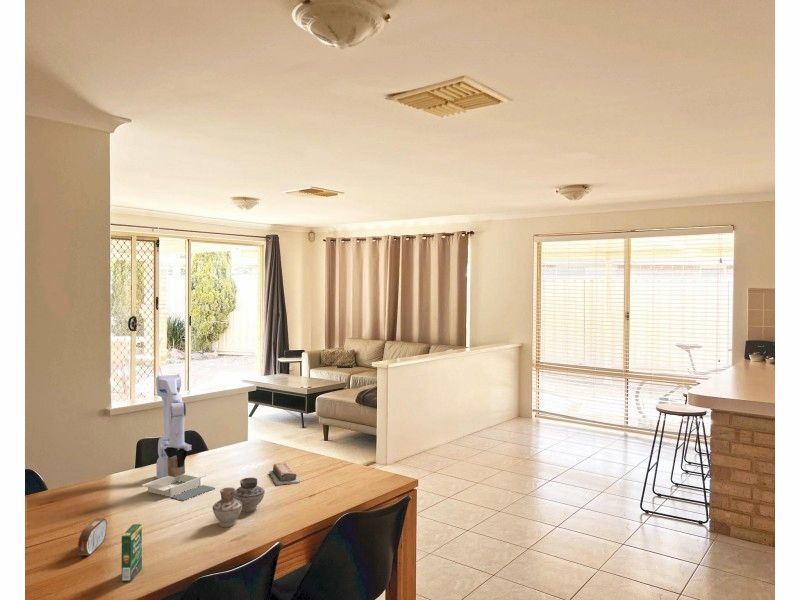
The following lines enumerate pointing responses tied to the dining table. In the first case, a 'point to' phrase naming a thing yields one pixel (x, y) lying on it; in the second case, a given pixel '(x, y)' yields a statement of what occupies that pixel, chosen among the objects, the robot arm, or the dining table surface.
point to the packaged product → (283, 474)
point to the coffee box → (131, 552)
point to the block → (174, 467)
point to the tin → (92, 536)
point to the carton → (159, 485)
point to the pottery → (237, 501)
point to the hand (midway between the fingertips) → (176, 466)
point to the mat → (193, 492)
